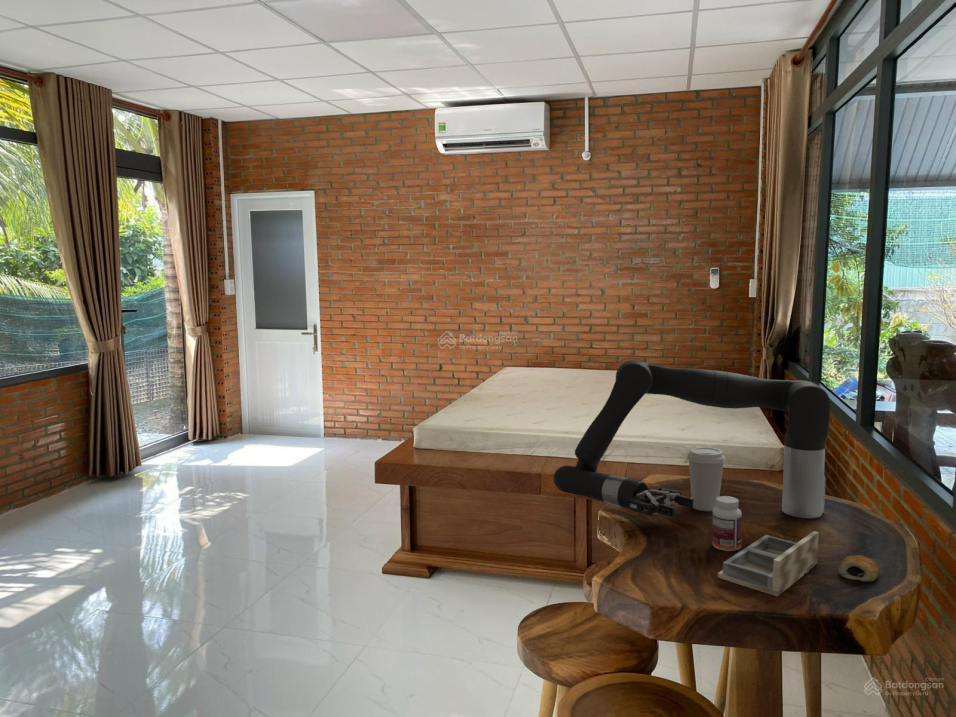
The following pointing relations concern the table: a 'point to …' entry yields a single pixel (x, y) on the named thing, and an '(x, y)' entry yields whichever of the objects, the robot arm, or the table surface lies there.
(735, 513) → the pill bottle
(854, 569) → the pastry
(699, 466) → the coffee cup
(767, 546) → the bottle rack
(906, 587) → the table surface
